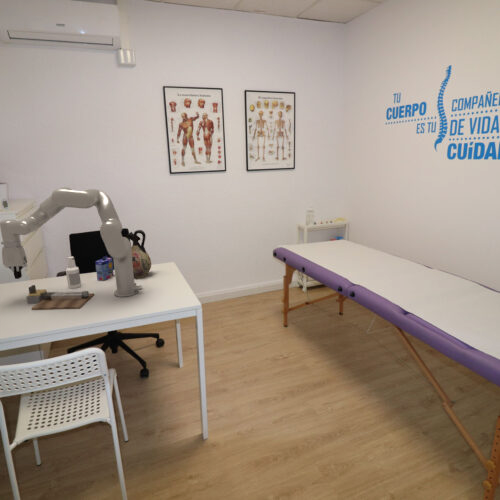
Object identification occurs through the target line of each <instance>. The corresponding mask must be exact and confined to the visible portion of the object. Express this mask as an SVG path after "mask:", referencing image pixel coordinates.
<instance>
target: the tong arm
mask: <svg viewBox="0 0 500 500" xmlns="http://www.w3.org/2000/svg"><path fill="white" fill-rule="evenodd" d="M81 292H82V294H45V295H44V296H43V298H44V300H77V299H86V298H89V293H90V292H89V291H88V290H84V291H81Z"/></svg>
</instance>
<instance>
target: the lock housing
mask: <svg viewBox="0 0 500 500" xmlns="http://www.w3.org/2000/svg"><path fill="white" fill-rule="evenodd" d="M47 293H48V291H47V290H46V292H45V293H44V294H42V295H41V296H29V295H27V296H26V302H27V304H28V305H30V304H31V305H34V304H35V305H36V304H38V303H39V302H40V301H42V300H43V299H44V298H43V296H44V295H45V294H47Z"/></svg>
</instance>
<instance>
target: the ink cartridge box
mask: <svg viewBox="0 0 500 500" xmlns="http://www.w3.org/2000/svg"><path fill="white" fill-rule="evenodd" d="M94 262H95V271H96V280H97V281H102V282H104V281H107V280H108V279H111V278H113V277H115V271H114V261H113V258H112V257H108V255H105V256H103V257H102V258H101V259H98V260H96V261H94Z"/></svg>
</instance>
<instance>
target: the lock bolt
mask: <svg viewBox="0 0 500 500" xmlns="http://www.w3.org/2000/svg"><path fill="white" fill-rule="evenodd" d="M46 291H47V289H37V288H36V285H35V284H33V285H30V286H29V287H28V292H29V293H28V294H27V296H41V295H42V294H44V293H45V292H46Z"/></svg>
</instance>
